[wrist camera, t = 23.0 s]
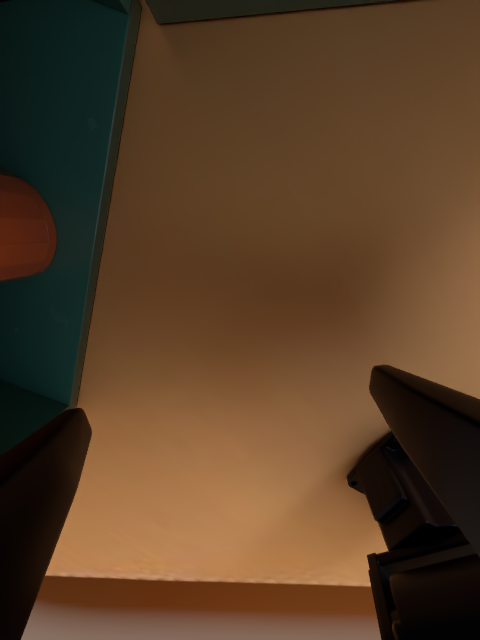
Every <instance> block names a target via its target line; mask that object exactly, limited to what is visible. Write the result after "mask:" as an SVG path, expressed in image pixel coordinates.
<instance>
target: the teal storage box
mask: <svg viewBox="0 0 480 640" xmlns="http://www.w3.org/2000/svg"><path fill="white" fill-rule="evenodd" d="M141 9H142V7H141V4H140V3H139V1H138V0H11V1H7V2H2V3H0V170H4V171H8V172H11V173H13V174H15V175H18V176H19V177H21V178H22V179H24V180H25V181H27V182H28V183H29V184H30V185H32V186H33V187H34V188H35V189H36V190H37V192H38V193H39V194H40V195H41V196H42V198H43V199H44V201H45V202H46V204H47V206H48V207H49V209H50V211H51V214H52V216H53V219H54V222H55V227H56V233H57V246H56V251H55V254H54V257H53V259H52V261H51V263H50V264H49V266H48V267H47V268H46V269H45V270H44V271H42V272H41V273H39V274H37V275H35V276H32V277H28V278H22V279H20V280H16V281H10V282H5V283H0V456H1V455H3V454H4V453H5V452H7V451H8V450H10V449H11V448H13V447H14V446H15V445H17V444H18V443H20V442H21V441H22V440H24V439H25V438H27V437H28V436H30V435H31V434H32V433H34V432H35V431H37V430H38V429H39V428H41V427H42V426H44V425H45V424H46V423H48V422H49V421H51V420H52V419H54V418H55V417H56V416H58V415H59V414H61V413H62V412H63V411H65V410H68V409H74V408H76V406H77V400H78V393H79V387H80V381H81V375H82V369H83V363H84V357H85V351H86V345H87V339H88V332H89V326H90V320H91V314H92V308H93V302H94V296H95V290H96V284H97V278H98V271H99V265H100V259H101V253H102V247H103V241H104V235H105V229H106V223H107V217H108V210H109V204H110V198H111V192H112V186H113V180H114V174H115V168H116V162H117V156H118V149H119V143H120V137H121V131H122V125H123V119H124V113H125V107H126V101H127V95H128V89H129V82H130V76H131V70H132V64H133V58H134V52H135V46H136V40H137V34H138V28H139V21H140V15H141Z"/></svg>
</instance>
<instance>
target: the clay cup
mask: <svg viewBox="0 0 480 640" xmlns="http://www.w3.org/2000/svg"><path fill="white" fill-rule="evenodd" d="M56 246H57V233H56V227H55V222H54V219H53V216H52V214H51V211H50V209H49V207H48V206H47V204H46V202H45V201H44V199H43V198H42V196H41V195H40V194H39V193H38V192H37V190H36V189H35V188H34V187H33V186H32V185H30V184H29V183H28V182H27V181H25V180H24V179H22V178H21V177H19V176H18V175H15V174H13V173H11V172H8V171H4V170H0V283H5V282H10V281H16V280H20V279H22V278H28V277H32V276H35V275H37V274H39V273H41V272H42V271H44V270H45V269H46V268H47V267H48V266H49V264H50V263H51V261H52V259H53V257H54V254H55V251H56Z"/></svg>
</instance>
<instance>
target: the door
mask: <svg viewBox="0 0 480 640" xmlns="http://www.w3.org/2000/svg"><path fill="white" fill-rule="evenodd" d="M145 1H146V3H147V5H148V7H149V9H150V11H151V12H152V14H153V16H154V18H155V20H156V22H157V23H158V24H161V23H171V22H182V21H192V20H202V19H212V18H222V17H232V16H243V15H253V14H263V13H273V12H283V11H293V10H304V9H314V8H324V7H334V6H344V5H354V4H365V3H375V2H385V1H395V0H145Z"/></svg>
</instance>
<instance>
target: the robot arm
mask: <svg viewBox="0 0 480 640" xmlns="http://www.w3.org/2000/svg"><path fill="white" fill-rule="evenodd" d="M369 390H370V393H371V395H372V397H373V399H374V401H375V402H376V404H377V406H378V408H379V410H380V411H381V413H382V415H383V417H384V418H385V420H386V422H387V424H388V425H389V427H390V429H391V432H389V433H388V434H387V436H386V437H385V438H384V439H383V440H382V441H381V442H380V443H379V444H378V445H377V446H376V447H375V448H374V449H373V450H372V451H371V452H370V453H369V455H368V456H367V457H366V458H365V459H364V460H363V461H362V462H361V463H360V464H359V465H358V466H357V467H356V468H355V469H354V470H353V471H352V472H351V474H350V475H349V476H348V477H347V482H348V485H349V486H350V487H351V488H353V489H355V490H357V491H359V492H361V493H363V494H365V495H366V498H367V500H368V503H369V506H370V509H371V511H372V514H373V517H374V519H375V520H376V521H378V524H379V527H380V529H381V532H382V535H383V537H384V540H385V543H386V546H387V548H388V551H387V552H383V553H380V554H376V553H372V554H369V555H367V558H368V563H369V568H370V570H368V571H369V577H370V582H371V587H372V592H373V598H374V603H375V608H376V613H377V619H378V623H379V628H380V634H381V639H382V640H480V399H477V398H475V397H472V396H469V395H467V394H464V393H461V392H459V391H456V390H453V389H451V388H448V387H445V386H443V385H440V384H437V383H435V382H432V381H429V380H427V379H424V378H421V377H419V376H416V375H413V374H411V373H408V372H405V371H403V370H400V369H397V368H395V367H392V366H389V365H378V366H374V367H373V368H372V372H371V378H370V385H369ZM91 435H92V430H91V426H90V424H89V421H88V419H87V417H86V414H85V412H84V410H83V409H82V408H74V409H68V410H65V411H63V412H62V413H61V414H59V415H58V416H56V417H55V418H54V419H52V420H51V421H49V422H48V423H46V424H45V425H44V426H42V427H41V428H39V429H38V430H37V431H35V432H34V433H32V434H31V435H30V436H28V437H27V438H25V439H24V440H22V441H21V442H20V443H18V444H17V445H15V446H14V447H13V448H11V449H10V450H8V451H7V452H5V453H4V454H3V455H1V456H0V640H21V637H22V635H23V632H24V629H25V627H26V624H27V621H28V619H29V616H30V613H31V610H32V608H33V605H34V603H35V600H36V598H37V595H38V592H39V589H40V587H41V584H42V582H43V579H44V576H45V574H46V571H47V568H48V566H49V563H50V560H51V558H52V555H53V552H54V550H55V547H56V544H57V542H58V539H59V536H60V534H61V531H62V528H63V526H64V523H65V520H66V518H67V515H68V513H69V510H70V507H71V505H72V502H73V499H74V496H75V494H76V491H77V488H78V484H79V481H80V477H81V473H82V470H83V466H84V462H85V458H86V455H87V451H88V447H89V443H90V440H91Z"/></svg>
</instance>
